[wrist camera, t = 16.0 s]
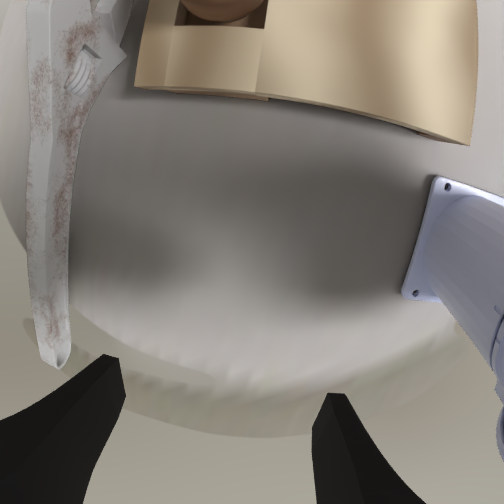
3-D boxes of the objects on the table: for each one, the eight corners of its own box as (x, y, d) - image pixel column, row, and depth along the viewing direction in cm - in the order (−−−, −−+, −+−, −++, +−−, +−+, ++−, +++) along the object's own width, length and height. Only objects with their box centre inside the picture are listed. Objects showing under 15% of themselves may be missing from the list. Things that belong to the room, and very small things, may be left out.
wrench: (71, 326, 26) (140, -32, 11) (86, 334, 26) (165, -30, 12) (28, 385, 19) (61, -76, 4) (45, 396, 19) (93, -82, 5)
